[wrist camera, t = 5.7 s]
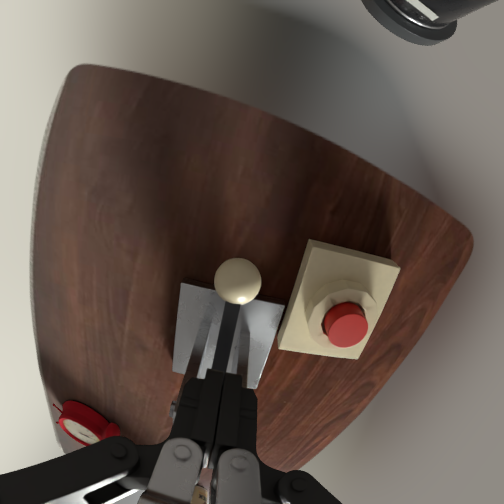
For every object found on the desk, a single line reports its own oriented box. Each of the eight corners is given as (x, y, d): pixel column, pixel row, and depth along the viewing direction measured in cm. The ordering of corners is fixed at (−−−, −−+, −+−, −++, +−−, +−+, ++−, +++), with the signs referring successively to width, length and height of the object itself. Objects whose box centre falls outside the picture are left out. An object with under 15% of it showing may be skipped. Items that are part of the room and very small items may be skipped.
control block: (308, 238, 25) (316, 253, 22) (391, 259, 26) (409, 276, 22) (277, 335, 29) (279, 360, 25) (352, 347, 30) (362, 370, 26)
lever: (220, 256, 22) (219, 250, 19) (262, 265, 23) (268, 261, 19) (187, 418, 20) (181, 436, 17) (226, 426, 21) (227, 445, 17)
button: (332, 298, 23) (337, 310, 22) (367, 305, 24) (374, 316, 22) (318, 332, 25) (322, 345, 23) (352, 337, 25) (358, 350, 23)
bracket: (184, 277, 27) (136, 365, 15) (284, 299, 28) (298, 398, 16) (174, 364, 31) (144, 451, 19) (256, 382, 32) (253, 473, 20)
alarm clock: (48, 400, 32) (119, 458, 30) (69, 382, 38) (138, 433, 36) (54, 427, 35) (117, 475, 34) (72, 410, 41) (132, 454, 40)
